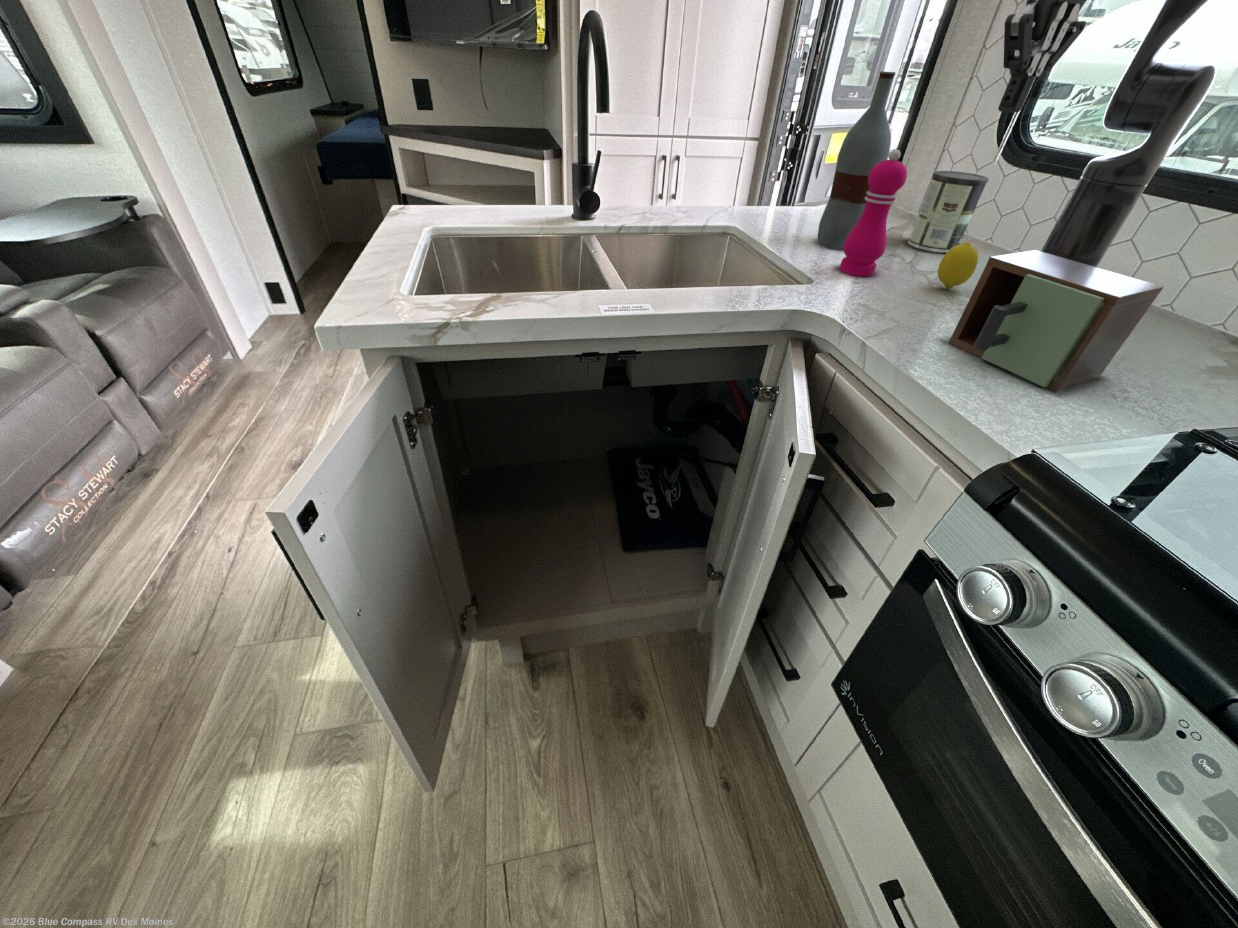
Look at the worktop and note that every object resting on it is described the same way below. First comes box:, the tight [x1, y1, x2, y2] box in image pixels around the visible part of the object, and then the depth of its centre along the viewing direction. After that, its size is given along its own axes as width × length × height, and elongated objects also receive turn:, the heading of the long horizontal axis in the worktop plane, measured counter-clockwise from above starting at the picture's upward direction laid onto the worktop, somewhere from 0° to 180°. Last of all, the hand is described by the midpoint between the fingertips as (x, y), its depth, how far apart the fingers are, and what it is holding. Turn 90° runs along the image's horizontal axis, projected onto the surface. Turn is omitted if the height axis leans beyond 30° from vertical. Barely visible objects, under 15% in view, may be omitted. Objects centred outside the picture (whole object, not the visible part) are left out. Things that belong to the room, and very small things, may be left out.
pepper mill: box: [839, 148, 908, 277], centre depth 91 cm, size 7×7×20 cm
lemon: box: [937, 241, 979, 290], centre depth 90 cm, size 6×6×8 cm
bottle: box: [817, 70, 897, 251], centre depth 102 cm, size 9×9×30 cm
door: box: [974, 274, 1105, 388], centre depth 62 cm, size 6×8×11 cm
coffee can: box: [907, 170, 990, 254], centre depth 110 cm, size 10×10×14 cm
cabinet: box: [948, 249, 1164, 393], centre depth 67 cm, size 10×15×12 cm, turn 27°
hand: (1008, 111), depth 67 cm, fingers closed
